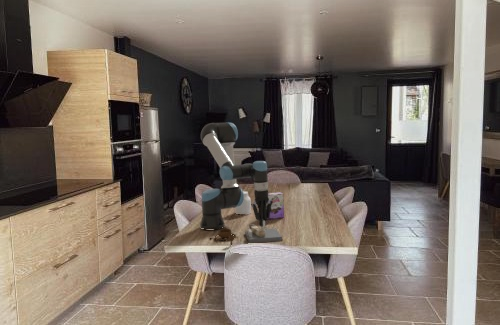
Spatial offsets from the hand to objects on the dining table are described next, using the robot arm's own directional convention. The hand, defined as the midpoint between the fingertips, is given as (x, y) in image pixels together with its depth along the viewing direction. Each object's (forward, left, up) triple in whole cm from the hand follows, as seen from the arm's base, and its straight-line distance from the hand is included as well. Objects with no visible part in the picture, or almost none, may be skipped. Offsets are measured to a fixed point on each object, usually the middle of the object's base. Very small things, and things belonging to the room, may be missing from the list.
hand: (263, 231), depth 207 cm
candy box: (+14, +43, -4) cm, 46 cm away
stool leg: (-3, +3, -1) cm, 5 cm away
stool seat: (0, +3, -4) cm, 5 cm away
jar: (-4, +61, -4) cm, 61 cm away
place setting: (-22, +2, -5) cm, 22 cm away
